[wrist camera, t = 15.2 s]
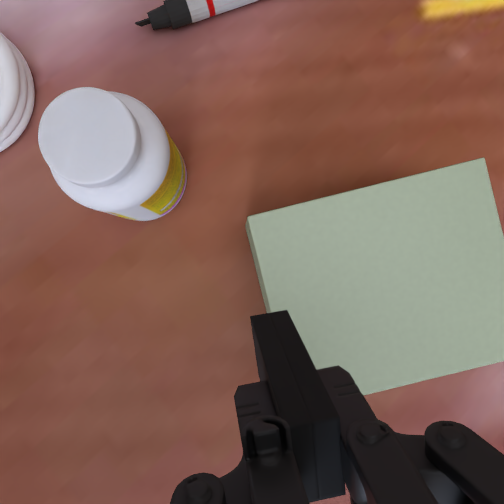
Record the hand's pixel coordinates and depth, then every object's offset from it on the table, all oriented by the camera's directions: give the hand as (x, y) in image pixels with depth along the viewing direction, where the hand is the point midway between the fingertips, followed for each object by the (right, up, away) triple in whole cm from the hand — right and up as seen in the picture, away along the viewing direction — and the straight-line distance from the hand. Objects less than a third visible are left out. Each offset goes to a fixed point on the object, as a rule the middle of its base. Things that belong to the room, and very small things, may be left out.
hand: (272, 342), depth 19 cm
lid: (+7, +2, +8) cm, 11 cm away
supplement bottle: (-9, +9, +16) cm, 21 cm away
